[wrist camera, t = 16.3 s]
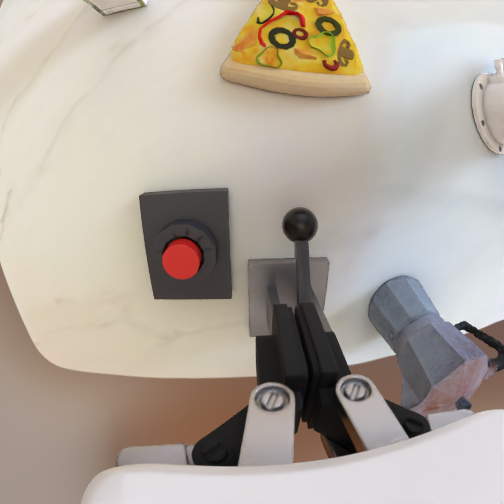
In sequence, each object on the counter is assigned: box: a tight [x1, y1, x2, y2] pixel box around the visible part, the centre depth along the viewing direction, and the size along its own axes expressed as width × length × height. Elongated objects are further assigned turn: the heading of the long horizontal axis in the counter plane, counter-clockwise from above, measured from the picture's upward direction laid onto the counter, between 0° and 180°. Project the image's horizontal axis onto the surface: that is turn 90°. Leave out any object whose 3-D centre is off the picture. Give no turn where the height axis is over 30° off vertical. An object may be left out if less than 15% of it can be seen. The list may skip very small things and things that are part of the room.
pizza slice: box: [220, 0, 371, 97], centre depth 20 cm, size 16×21×3 cm
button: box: [162, 238, 201, 279], centre depth 27 cm, size 4×4×2 cm
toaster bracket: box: [248, 258, 332, 337], centre depth 27 cm, size 10×9×13 cm
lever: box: [282, 207, 318, 307], centre depth 24 cm, size 15×3×3 cm
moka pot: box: [368, 276, 504, 417], centre depth 25 cm, size 10×15×20 cm, turn 111°
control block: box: [139, 188, 232, 299], centre depth 29 cm, size 12×9×4 cm
